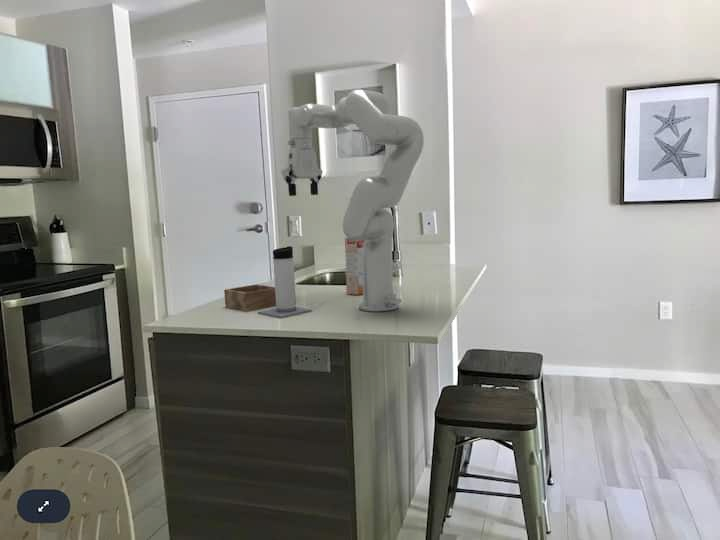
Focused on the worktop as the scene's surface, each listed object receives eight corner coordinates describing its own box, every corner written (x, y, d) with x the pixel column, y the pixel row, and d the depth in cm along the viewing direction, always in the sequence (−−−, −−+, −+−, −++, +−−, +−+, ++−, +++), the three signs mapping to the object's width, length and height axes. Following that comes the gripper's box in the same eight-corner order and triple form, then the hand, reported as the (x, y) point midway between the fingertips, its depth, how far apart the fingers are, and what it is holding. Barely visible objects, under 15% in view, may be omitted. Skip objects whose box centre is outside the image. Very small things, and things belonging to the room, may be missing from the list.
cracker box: (359, 295, 206) (357, 237, 203) (346, 294, 210) (343, 237, 207) (380, 289, 218) (378, 234, 215) (367, 288, 221) (364, 234, 218)
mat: (311, 311, 182) (311, 309, 182) (280, 318, 174) (280, 316, 174) (288, 307, 191) (288, 305, 191) (258, 313, 183) (258, 311, 183)
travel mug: (301, 309, 183) (297, 246, 180) (285, 313, 178) (281, 248, 176) (288, 307, 187) (284, 246, 185) (272, 311, 183) (268, 248, 180)
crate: (279, 305, 195) (278, 287, 194) (247, 311, 186) (245, 293, 186) (257, 301, 205) (256, 284, 204) (225, 307, 196) (224, 289, 195)
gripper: (287, 143, 189) (290, 196, 191) (327, 144, 201) (329, 194, 203) (273, 145, 194) (276, 196, 196) (313, 146, 206) (315, 194, 208)
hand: (303, 195), depth 200 cm, fingers open, 9 cm apart
